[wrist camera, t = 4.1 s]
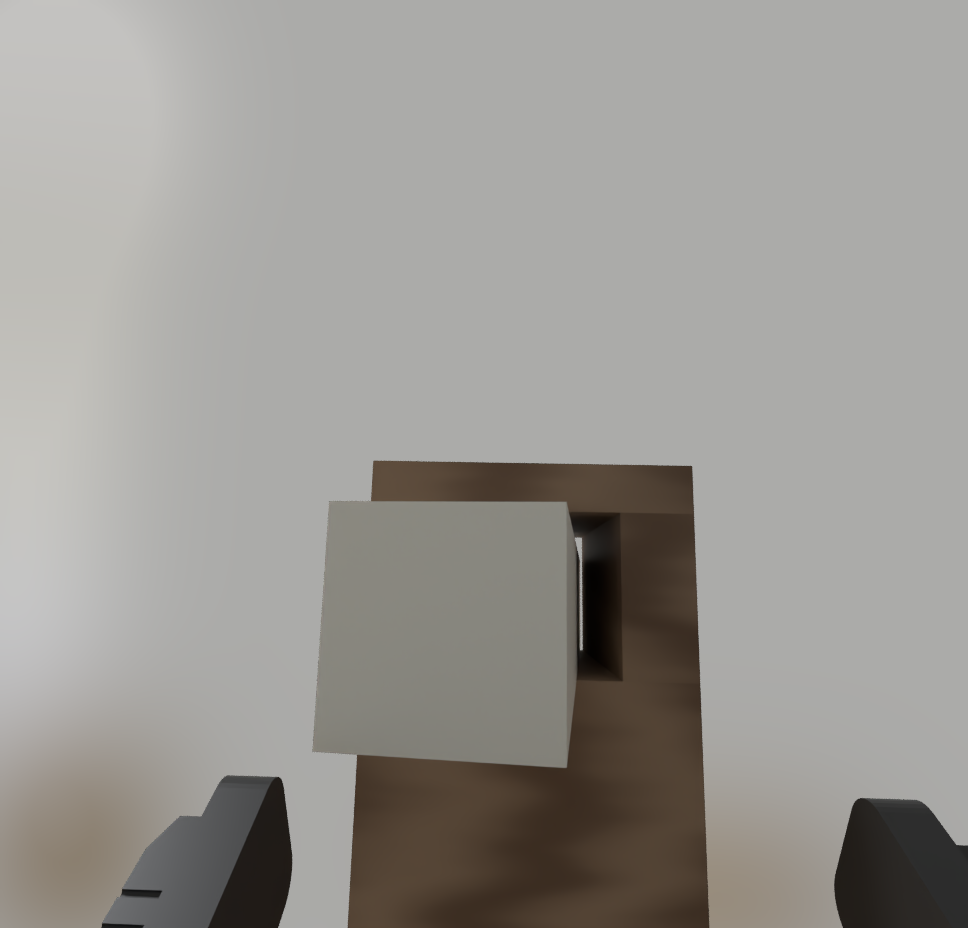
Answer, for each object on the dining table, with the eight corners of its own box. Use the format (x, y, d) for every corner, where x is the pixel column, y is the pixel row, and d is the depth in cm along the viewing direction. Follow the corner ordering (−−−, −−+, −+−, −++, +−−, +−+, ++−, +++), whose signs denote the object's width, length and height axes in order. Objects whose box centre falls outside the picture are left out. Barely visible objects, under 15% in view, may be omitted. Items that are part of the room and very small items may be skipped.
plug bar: (580, 646, 31) (579, 561, 32) (566, 767, 10) (566, 501, 11) (496, 643, 32) (498, 560, 32) (312, 751, 10) (329, 501, 11)
